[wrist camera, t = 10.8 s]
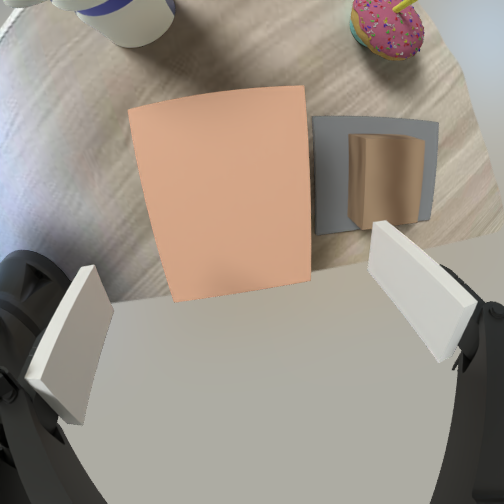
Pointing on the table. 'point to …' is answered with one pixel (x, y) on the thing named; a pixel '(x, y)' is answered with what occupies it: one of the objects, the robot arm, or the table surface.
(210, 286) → the lid
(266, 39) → the table surface
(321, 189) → the mat
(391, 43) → the cupcake
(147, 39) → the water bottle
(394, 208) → the brown wooden block
